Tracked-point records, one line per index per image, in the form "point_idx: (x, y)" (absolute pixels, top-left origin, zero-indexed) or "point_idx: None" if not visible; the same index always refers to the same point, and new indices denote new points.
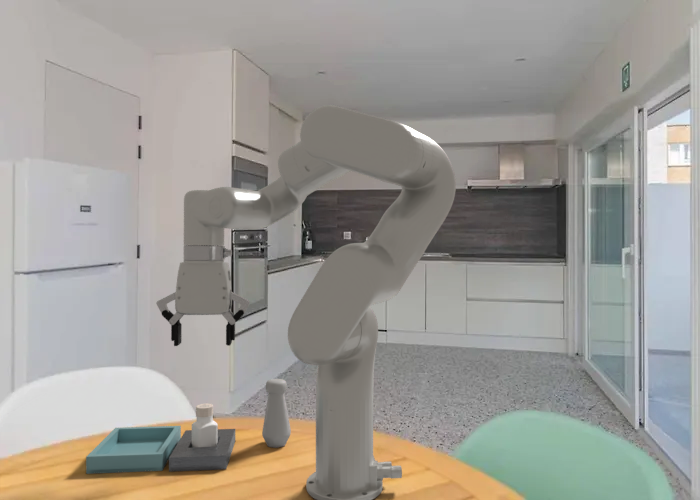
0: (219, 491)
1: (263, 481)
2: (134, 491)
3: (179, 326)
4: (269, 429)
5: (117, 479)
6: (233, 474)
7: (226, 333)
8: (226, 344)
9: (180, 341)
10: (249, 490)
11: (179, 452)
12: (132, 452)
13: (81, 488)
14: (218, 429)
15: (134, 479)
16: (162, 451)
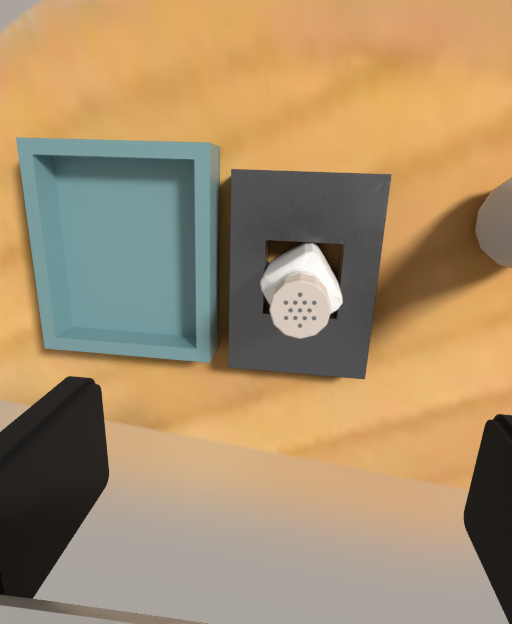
0: (349, 456)
1: (441, 434)
2: (189, 426)
3: (15, 563)
4: (507, 261)
5: (139, 371)
6: (377, 391)
7: (508, 611)
8: (467, 524)
9: (95, 419)
10: (408, 464)
11: (246, 341)
12: (120, 248)
13: None
14: (335, 175)
15: (173, 377)
16: (206, 347)
